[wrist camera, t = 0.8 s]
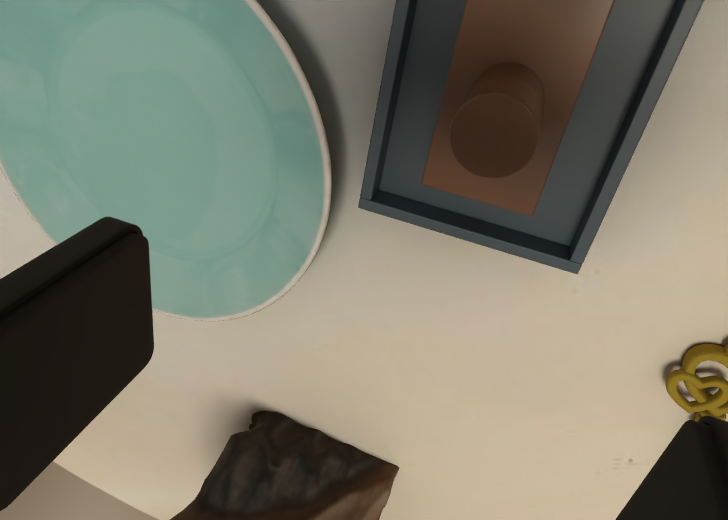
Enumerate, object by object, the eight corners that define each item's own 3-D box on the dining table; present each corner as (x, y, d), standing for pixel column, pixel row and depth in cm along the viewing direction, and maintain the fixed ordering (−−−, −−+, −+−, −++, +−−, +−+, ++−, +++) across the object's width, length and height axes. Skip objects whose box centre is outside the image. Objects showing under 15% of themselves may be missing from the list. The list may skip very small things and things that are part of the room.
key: (714, 518, 32) (622, 493, 33) (710, 500, 33) (620, 476, 34) (804, 357, 26) (688, 334, 27) (795, 341, 27) (683, 319, 28)
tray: (436, -151, 22) (425, -158, 20) (734, -96, 20) (750, -99, 18) (369, 192, 30) (357, 207, 29) (577, 254, 28) (577, 275, 27)
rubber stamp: (488, -46, 23) (452, -37, 16) (613, -19, 22) (633, 3, 15) (436, 158, 28) (390, 234, 21) (536, 186, 27) (524, 276, 20)
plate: (68, 274, 41) (38, 294, 39) (-48, -78, 30) (-100, -80, 28) (354, 324, 35) (338, 352, 33) (340, -92, 24) (316, -95, 22)
